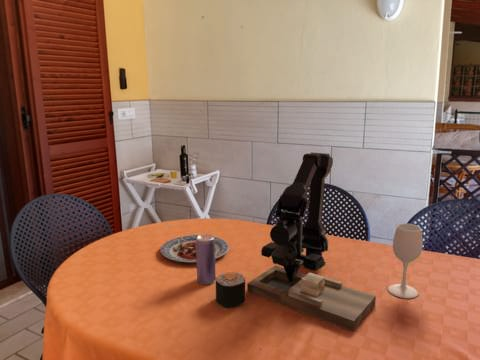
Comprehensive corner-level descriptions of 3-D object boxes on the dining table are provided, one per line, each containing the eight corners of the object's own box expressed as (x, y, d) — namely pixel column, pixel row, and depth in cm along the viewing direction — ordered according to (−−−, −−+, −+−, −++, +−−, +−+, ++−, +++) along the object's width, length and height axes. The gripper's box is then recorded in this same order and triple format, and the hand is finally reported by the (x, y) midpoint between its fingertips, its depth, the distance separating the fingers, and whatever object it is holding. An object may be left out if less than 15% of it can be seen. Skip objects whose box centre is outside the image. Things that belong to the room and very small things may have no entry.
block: (309, 284, 126) (309, 272, 125) (324, 289, 123) (324, 277, 122) (300, 291, 122) (301, 278, 121) (316, 296, 119) (316, 283, 118)
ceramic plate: (242, 248, 161) (242, 241, 161) (201, 273, 140) (201, 265, 139) (190, 235, 175) (190, 228, 174) (146, 257, 154) (145, 249, 153)
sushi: (211, 299, 123) (210, 274, 121) (233, 291, 128) (233, 267, 126) (227, 311, 117) (226, 285, 115) (250, 301, 122) (250, 276, 120)
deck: (275, 273, 140) (275, 260, 139) (375, 305, 120) (376, 291, 119) (247, 292, 127) (247, 278, 126) (353, 331, 107) (354, 315, 106)
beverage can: (212, 286, 131) (212, 241, 128) (194, 284, 132) (193, 240, 129) (217, 277, 137) (216, 234, 133) (200, 275, 138) (199, 233, 134)
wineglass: (417, 287, 130) (423, 224, 125) (419, 301, 122) (426, 233, 117) (387, 283, 133) (393, 220, 128) (387, 296, 125) (393, 230, 120)
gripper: (250, 234, 122) (250, 283, 126) (307, 249, 111) (305, 302, 115) (271, 224, 131) (270, 269, 134) (326, 237, 120) (323, 286, 123)
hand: (291, 281), depth 126 cm, fingers closed
